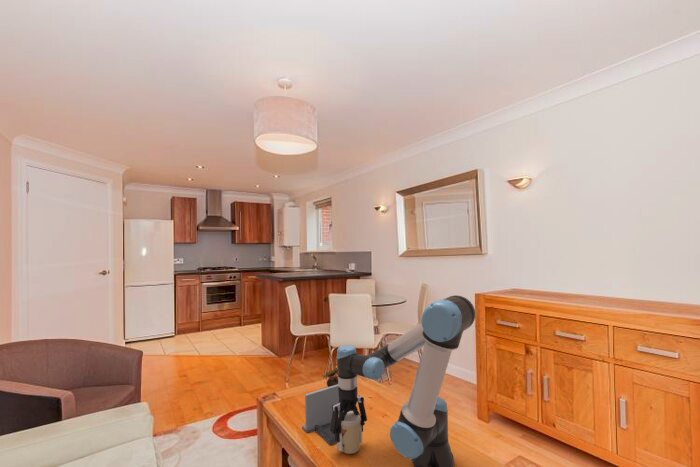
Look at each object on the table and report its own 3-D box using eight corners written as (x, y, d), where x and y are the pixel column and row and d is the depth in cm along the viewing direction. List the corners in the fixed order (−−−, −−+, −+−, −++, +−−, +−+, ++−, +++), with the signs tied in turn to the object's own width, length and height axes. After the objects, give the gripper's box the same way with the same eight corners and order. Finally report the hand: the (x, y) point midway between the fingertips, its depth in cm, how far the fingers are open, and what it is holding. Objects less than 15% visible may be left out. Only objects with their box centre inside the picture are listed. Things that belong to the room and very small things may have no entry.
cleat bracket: (360, 433, 143) (360, 428, 143) (330, 445, 134) (330, 440, 134) (343, 419, 154) (343, 415, 154) (314, 430, 146) (314, 425, 146)
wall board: (349, 417, 156) (349, 382, 156) (307, 433, 144) (306, 395, 144) (343, 412, 160) (343, 378, 160) (302, 428, 148) (301, 391, 148)
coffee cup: (335, 443, 134) (334, 413, 135) (357, 438, 137) (356, 408, 138) (341, 457, 125) (340, 424, 126) (365, 451, 128) (364, 419, 129)
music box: (334, 417, 156) (330, 373, 157) (318, 411, 163) (315, 369, 165) (356, 405, 167) (352, 364, 169) (340, 400, 174) (337, 361, 176)
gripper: (363, 376, 141) (365, 431, 140) (319, 390, 129) (321, 450, 128) (374, 382, 135) (377, 439, 134) (329, 397, 123) (331, 460, 122)
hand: (349, 445), depth 131 cm, fingers closed on coffee cup, 9 cm apart
